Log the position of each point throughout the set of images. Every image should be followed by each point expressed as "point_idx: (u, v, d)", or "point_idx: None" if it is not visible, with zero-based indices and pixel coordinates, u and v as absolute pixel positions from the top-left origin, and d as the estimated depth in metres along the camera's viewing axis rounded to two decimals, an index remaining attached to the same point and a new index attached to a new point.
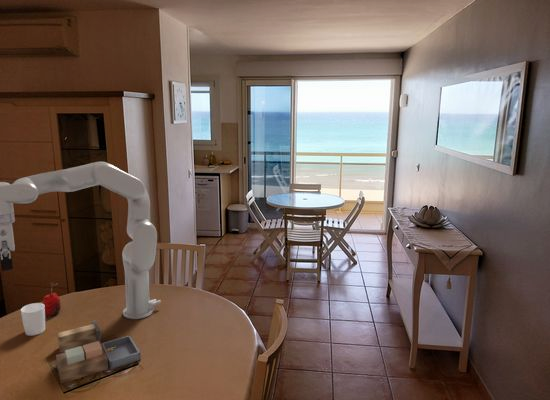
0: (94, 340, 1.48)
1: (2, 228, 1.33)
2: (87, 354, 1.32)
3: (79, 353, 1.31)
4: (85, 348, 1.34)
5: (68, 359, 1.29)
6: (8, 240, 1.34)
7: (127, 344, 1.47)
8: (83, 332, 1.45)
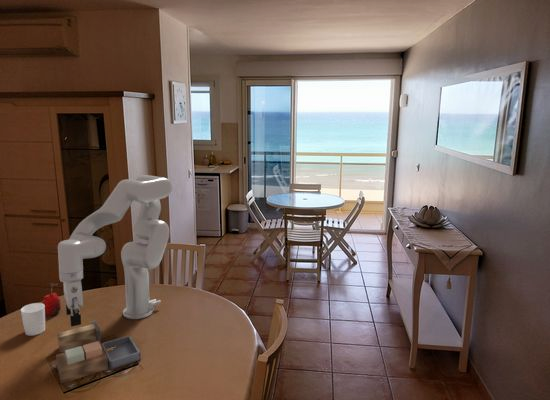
0: (94, 340, 1.48)
1: (73, 285, 1.37)
2: (87, 354, 1.32)
3: (79, 353, 1.31)
4: (85, 348, 1.34)
5: (68, 359, 1.29)
6: (78, 296, 1.39)
7: (127, 344, 1.47)
8: (83, 333, 1.45)
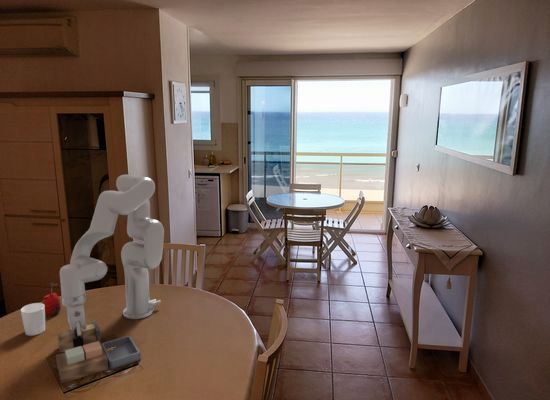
0: (94, 340, 1.48)
1: (76, 309, 1.40)
2: (87, 354, 1.32)
3: (79, 353, 1.31)
4: (85, 348, 1.34)
5: (68, 359, 1.29)
6: (81, 320, 1.41)
7: (127, 344, 1.47)
8: (83, 332, 1.45)
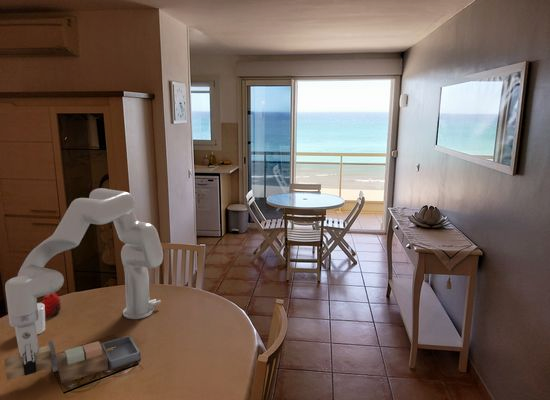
0: (49, 364, 1.26)
1: (25, 330, 1.18)
2: (87, 354, 1.32)
3: (79, 353, 1.31)
4: (85, 348, 1.34)
5: (68, 359, 1.29)
6: (32, 343, 1.19)
7: (127, 344, 1.47)
8: (35, 356, 1.24)
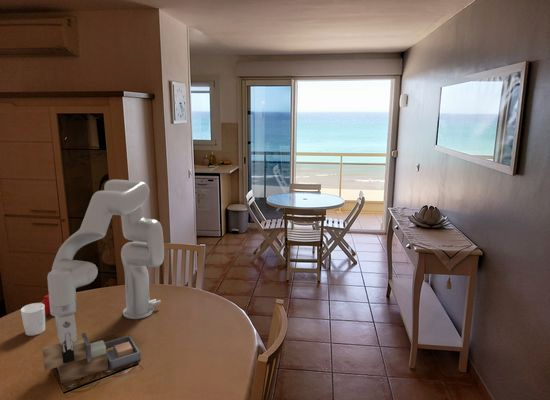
0: (84, 356, 1.32)
1: (66, 320, 1.24)
2: (131, 352, 1.41)
3: (101, 346, 1.35)
4: None
5: (91, 353, 1.32)
6: (71, 332, 1.25)
7: None
8: None
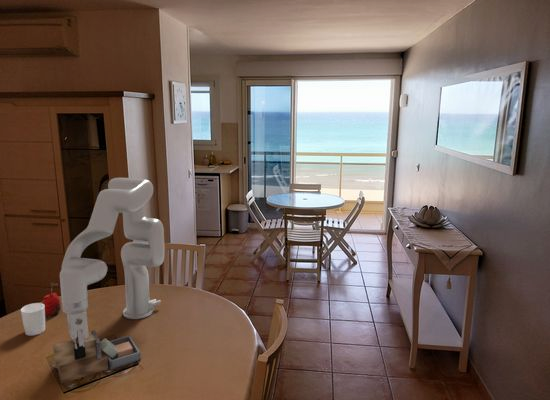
0: (94, 353, 1.34)
1: (78, 316, 1.26)
2: (131, 352, 1.41)
3: (115, 349, 1.38)
4: None
5: (107, 346, 1.35)
6: (83, 328, 1.27)
7: None
8: None
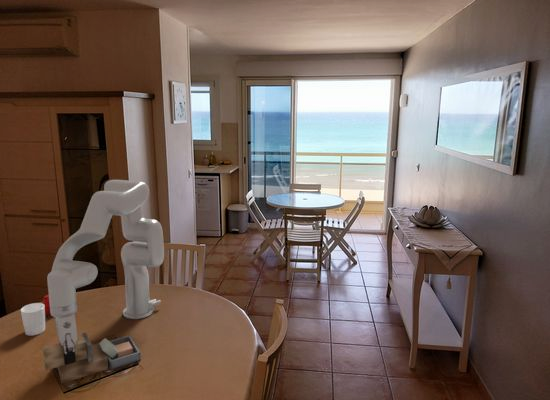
0: (85, 355, 1.32)
1: (66, 320, 1.24)
2: (131, 352, 1.41)
3: (115, 349, 1.38)
4: None
5: (107, 346, 1.35)
6: (72, 332, 1.25)
7: None
8: None
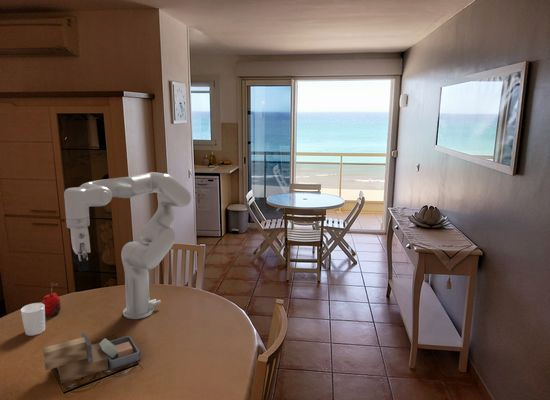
0: (85, 355, 1.32)
1: (80, 231, 1.40)
2: (131, 352, 1.41)
3: (115, 349, 1.38)
4: None
5: (107, 346, 1.35)
6: (85, 242, 1.42)
7: None
8: (72, 347, 1.29)
